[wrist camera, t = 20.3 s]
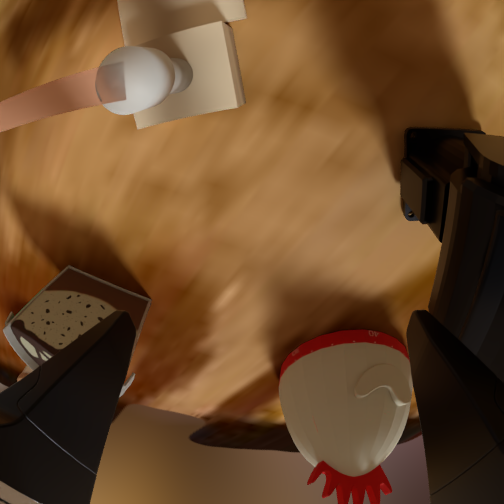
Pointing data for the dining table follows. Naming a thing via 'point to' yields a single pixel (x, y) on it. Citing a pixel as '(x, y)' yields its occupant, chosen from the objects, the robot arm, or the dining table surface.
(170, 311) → the dining table surface
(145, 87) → the latch bar
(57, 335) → the food container
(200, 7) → the housing
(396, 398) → the kitchen timer
